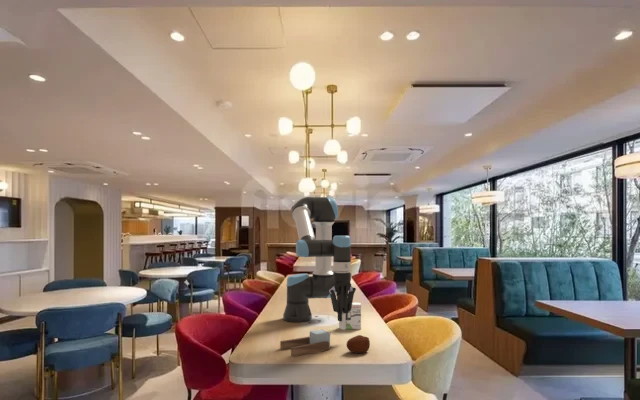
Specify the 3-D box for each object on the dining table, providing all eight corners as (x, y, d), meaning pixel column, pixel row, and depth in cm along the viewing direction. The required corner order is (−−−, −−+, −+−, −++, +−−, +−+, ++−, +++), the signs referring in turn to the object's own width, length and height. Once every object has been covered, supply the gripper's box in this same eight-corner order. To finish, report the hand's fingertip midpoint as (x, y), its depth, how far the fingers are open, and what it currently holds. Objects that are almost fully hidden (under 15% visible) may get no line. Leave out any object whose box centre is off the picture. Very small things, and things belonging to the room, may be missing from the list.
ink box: (343, 329, 188) (343, 304, 189) (343, 326, 193) (343, 302, 194) (361, 329, 188) (361, 304, 189) (360, 326, 193) (360, 302, 194)
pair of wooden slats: (280, 348, 157) (280, 341, 158) (315, 342, 165) (315, 335, 166) (292, 356, 148) (292, 348, 148) (329, 349, 156) (329, 342, 156)
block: (309, 346, 161) (309, 331, 162) (322, 344, 164) (322, 329, 165) (317, 350, 156) (317, 334, 157) (329, 347, 159) (329, 332, 160)
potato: (372, 355, 150) (372, 337, 150) (347, 355, 149) (347, 338, 149) (368, 349, 157) (368, 333, 157) (344, 350, 156) (344, 333, 156)
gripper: (334, 273, 161) (334, 332, 159) (359, 271, 168) (360, 328, 166) (324, 272, 168) (324, 328, 166) (349, 270, 175) (349, 325, 173)
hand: (342, 328), depth 166 cm, fingers closed
